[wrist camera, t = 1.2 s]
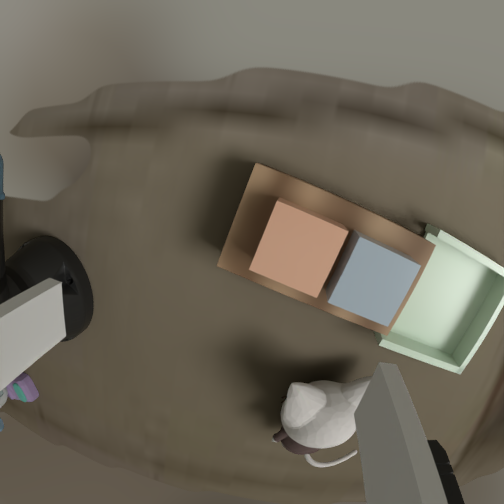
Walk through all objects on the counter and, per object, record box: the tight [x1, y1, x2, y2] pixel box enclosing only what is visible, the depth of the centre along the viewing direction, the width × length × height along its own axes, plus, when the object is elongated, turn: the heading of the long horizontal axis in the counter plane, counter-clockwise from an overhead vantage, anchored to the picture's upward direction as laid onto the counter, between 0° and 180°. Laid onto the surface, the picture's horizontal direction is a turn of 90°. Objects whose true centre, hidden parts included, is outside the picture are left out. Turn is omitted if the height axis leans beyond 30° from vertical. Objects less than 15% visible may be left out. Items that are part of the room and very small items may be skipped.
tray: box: [373, 223, 504, 374], centre depth 29 cm, size 12×13×4 cm
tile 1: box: [326, 230, 421, 327], centre depth 26 cm, size 6×6×3 cm
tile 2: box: [249, 198, 349, 298], centre depth 26 cm, size 6×6×3 cm
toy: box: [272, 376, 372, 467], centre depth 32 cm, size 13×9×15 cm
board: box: [217, 163, 436, 336], centre depth 29 cm, size 18×10×4 cm, turn 69°
